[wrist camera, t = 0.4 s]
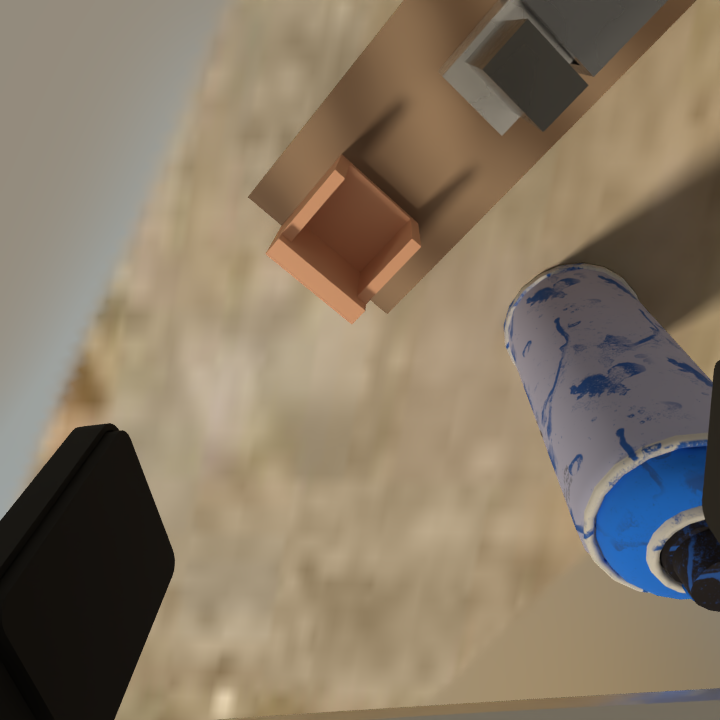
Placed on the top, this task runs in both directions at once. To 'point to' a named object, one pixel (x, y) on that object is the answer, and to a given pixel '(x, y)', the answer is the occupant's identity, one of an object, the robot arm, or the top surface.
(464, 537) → the top surface
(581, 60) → the outer sleeve
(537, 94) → the square sliding rod
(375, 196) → the socket block
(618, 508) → the aerosol can
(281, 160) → the track board
